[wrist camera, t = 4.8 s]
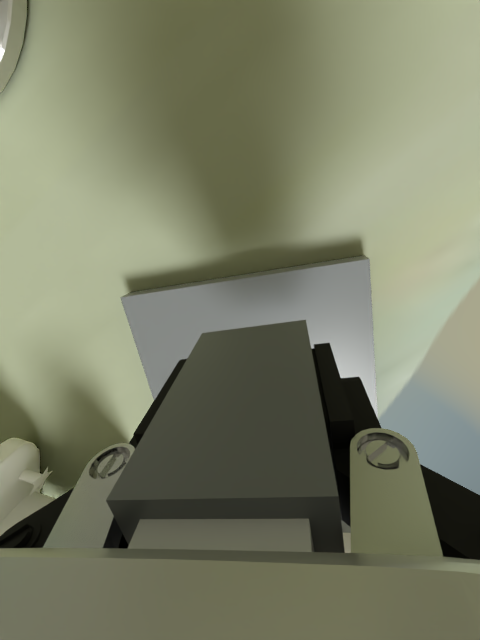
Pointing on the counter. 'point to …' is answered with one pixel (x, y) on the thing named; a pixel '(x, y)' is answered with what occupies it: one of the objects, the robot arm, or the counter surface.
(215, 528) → the block
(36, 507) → the cable organizer
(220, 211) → the counter surface
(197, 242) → the counter surface
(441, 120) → the counter surface
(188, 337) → the board
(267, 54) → the counter surface
